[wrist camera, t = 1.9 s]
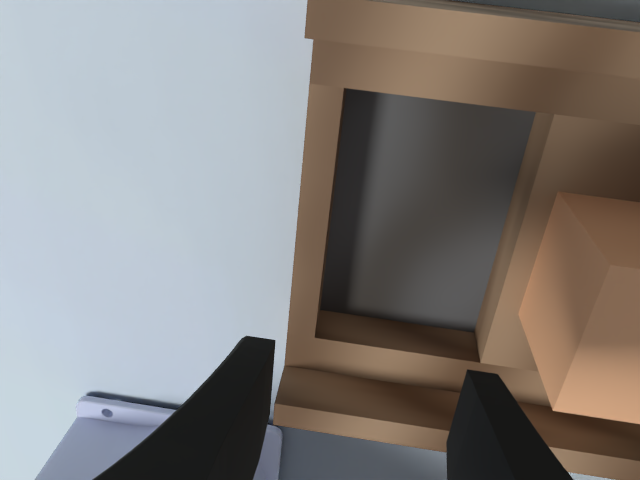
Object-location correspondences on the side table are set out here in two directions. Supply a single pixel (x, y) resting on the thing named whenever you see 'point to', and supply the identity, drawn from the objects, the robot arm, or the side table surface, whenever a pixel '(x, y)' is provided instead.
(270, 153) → the side table surface
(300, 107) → the side table surface
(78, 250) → the side table surface
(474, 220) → the trap lane
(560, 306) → the terracotta block
